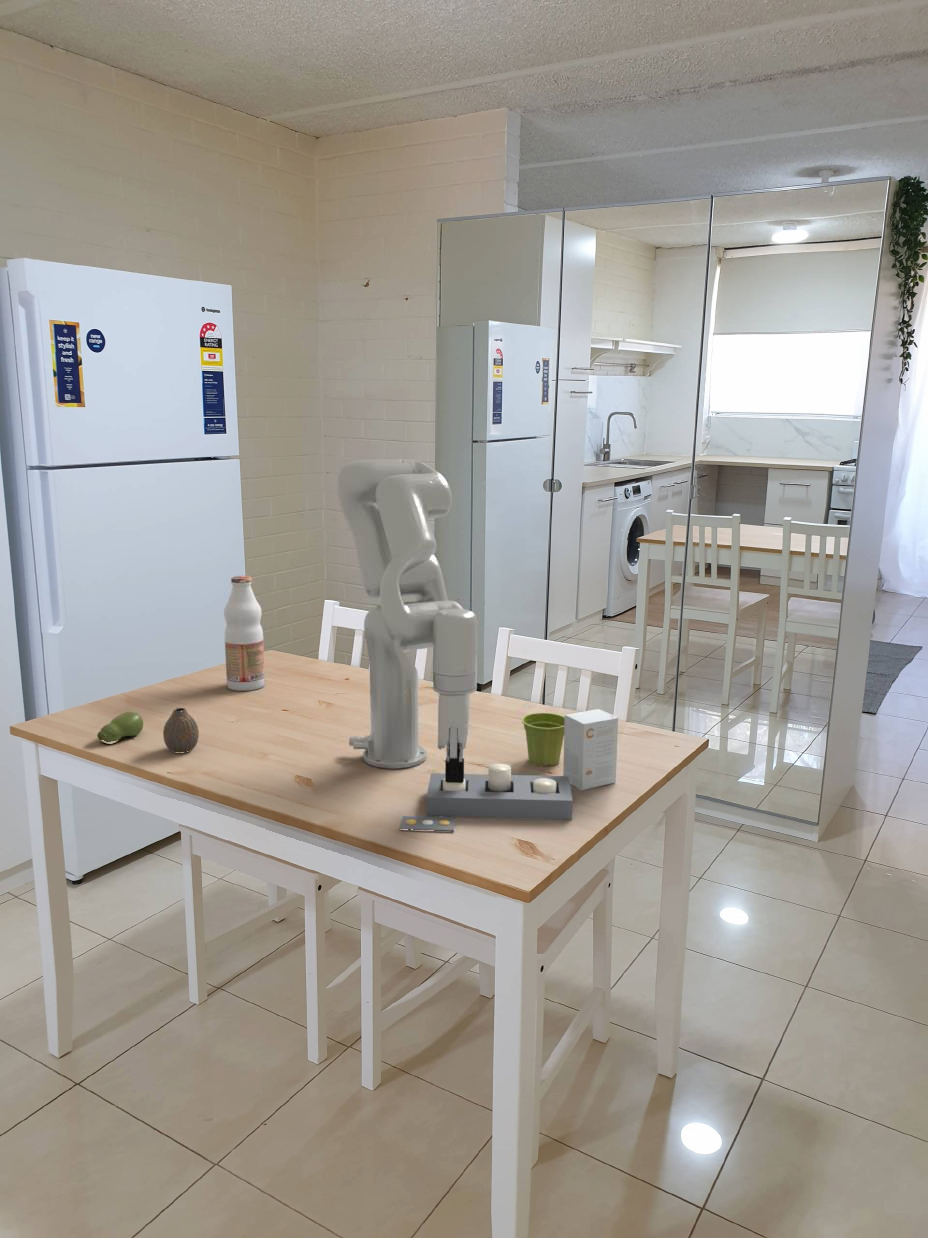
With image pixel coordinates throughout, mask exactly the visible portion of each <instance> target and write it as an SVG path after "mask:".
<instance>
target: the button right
mask: <svg viewBox="0 0 928 1238" xmlns="http://www.w3.org/2000/svg"><path fill="white" fill-rule="evenodd" d="M533 793H556V781H554V780H552V779H548V778H540V779H536V780H534V784H533Z"/></svg>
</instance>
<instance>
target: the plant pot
mask: <svg viewBox="0 0 928 1238" xmlns="http://www.w3.org/2000/svg"><path fill="white" fill-rule="evenodd" d="M521 722H522V724H523V729H524V730H525V735H526V736H525V737H526V744H527V757H528V761H530V763H531V764H532V765H535V766H539V767H545V766H556V765H558V763H560V759H561V754H562V748H563V744H564V722H565V715H564V716H563V715H562V714H561V715H560V714H558V713H553V712H534V713H529V714H526V715H524V716H522V718H521Z"/></svg>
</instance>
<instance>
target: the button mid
mask: <svg viewBox="0 0 928 1238" xmlns="http://www.w3.org/2000/svg"><path fill="white" fill-rule="evenodd" d="M487 769H488V772H487V775H488V788H489V789H490V790H493V791H507V790H509V789H510V788H511V775H512V767H511V765H508V764H505V763H493V764H490V765H489V766H488V768H487Z"/></svg>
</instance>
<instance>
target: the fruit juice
mask: <svg viewBox="0 0 928 1238" xmlns="http://www.w3.org/2000/svg"><path fill="white" fill-rule="evenodd" d="M230 578H231V579H230V582H231V584H232V588H231V592H230V595H229V597H228V601H227V603H226V605H225V607H224V610H223V616H224V620H225V622H226V626H225V629H224V650H225V652H224V653H225V671H226V674H225V675H226V686H227V688H228V689H230V690H231V691H235V692H236V691H237V692H248V691H255V690H259V689H261V688H263V687H265V684H266V676H265V673H266V671H265V650H264V649H265V647H264V645H265V644H264V630H263V627H262V625H261V619H262V614H263V613H262V612H263V611H262V607H261V605H260V604H259V602H258V601H257V598H256V596H255V594H254V591H253V588H252V586H251V585H252V580H253V579H252V576H249V575H235V576H232V577H230Z"/></svg>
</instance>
